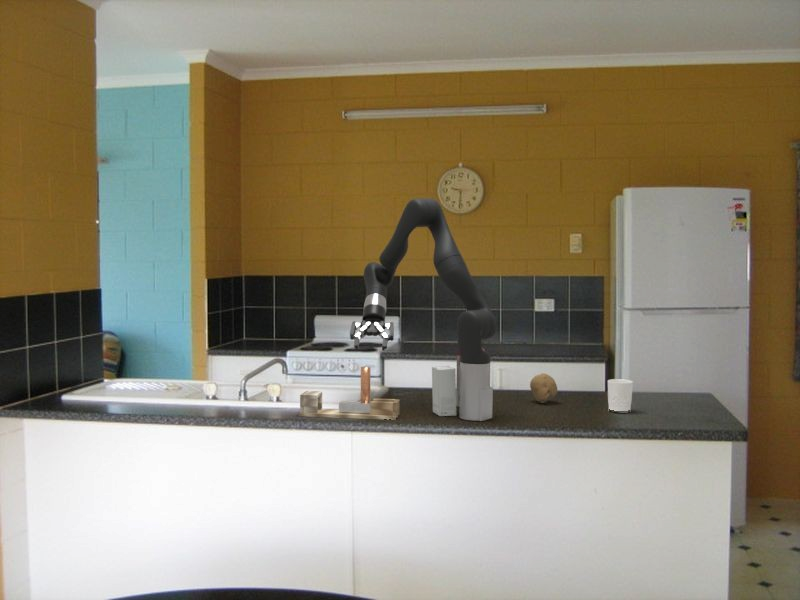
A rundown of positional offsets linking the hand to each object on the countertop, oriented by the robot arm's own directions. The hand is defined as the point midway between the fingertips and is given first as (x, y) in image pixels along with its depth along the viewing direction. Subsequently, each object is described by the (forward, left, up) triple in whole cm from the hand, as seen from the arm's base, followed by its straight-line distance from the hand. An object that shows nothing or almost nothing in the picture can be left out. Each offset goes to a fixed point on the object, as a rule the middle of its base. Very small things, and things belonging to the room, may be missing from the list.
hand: (370, 348), depth 261 cm
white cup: (-62, -51, -20) cm, 83 cm away
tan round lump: (-36, -48, -20) cm, 63 cm away
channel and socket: (-3, +12, -20) cm, 23 cm away
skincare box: (-23, -10, -20) cm, 32 cm away
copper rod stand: (-7, +10, -18) cm, 22 cm away
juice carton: (-21, -26, -20) cm, 39 cm away
